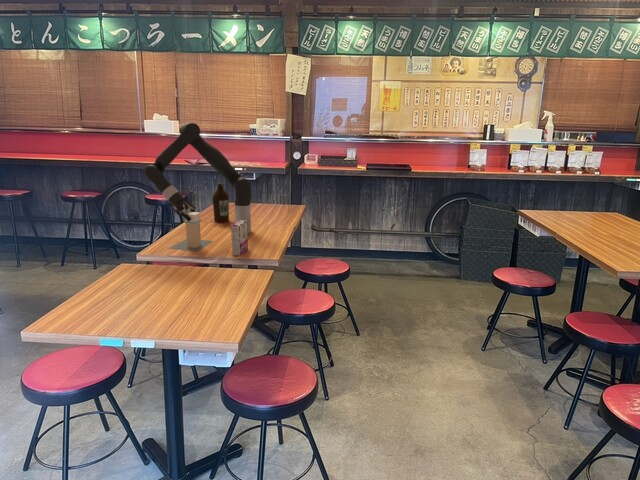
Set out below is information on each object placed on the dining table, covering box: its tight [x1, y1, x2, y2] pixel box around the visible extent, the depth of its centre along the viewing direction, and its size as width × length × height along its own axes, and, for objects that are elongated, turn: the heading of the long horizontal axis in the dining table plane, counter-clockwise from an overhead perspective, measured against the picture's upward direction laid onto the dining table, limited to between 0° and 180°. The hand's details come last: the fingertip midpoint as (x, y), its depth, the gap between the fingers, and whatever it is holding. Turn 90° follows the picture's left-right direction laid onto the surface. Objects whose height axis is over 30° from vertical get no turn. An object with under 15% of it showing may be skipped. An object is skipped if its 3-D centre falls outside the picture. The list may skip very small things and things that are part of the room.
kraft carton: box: [185, 222, 202, 248], centre depth 262 cm, size 5×5×13 cm
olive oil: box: [211, 182, 230, 223], centre depth 319 cm, size 11×11×25 cm
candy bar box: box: [230, 220, 249, 256], centre depth 254 cm, size 11×5×16 cm, turn 168°
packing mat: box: [167, 238, 215, 252], centre depth 266 cm, size 20×17×1 cm
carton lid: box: [184, 211, 202, 224], centre depth 259 cm, size 6×6×5 cm
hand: (194, 218), depth 259 cm, fingers open, 8 cm apart
